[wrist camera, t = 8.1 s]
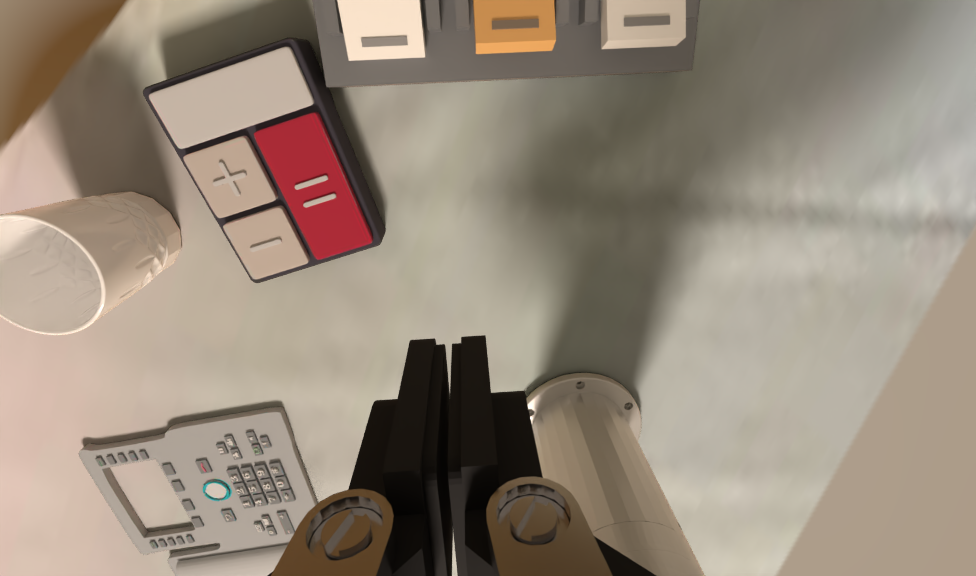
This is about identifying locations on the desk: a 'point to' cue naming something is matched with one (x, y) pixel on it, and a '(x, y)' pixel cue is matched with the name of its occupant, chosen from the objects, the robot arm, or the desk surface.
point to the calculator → (270, 158)
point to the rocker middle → (514, 26)
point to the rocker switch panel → (458, 61)
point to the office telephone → (216, 491)
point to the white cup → (81, 258)
